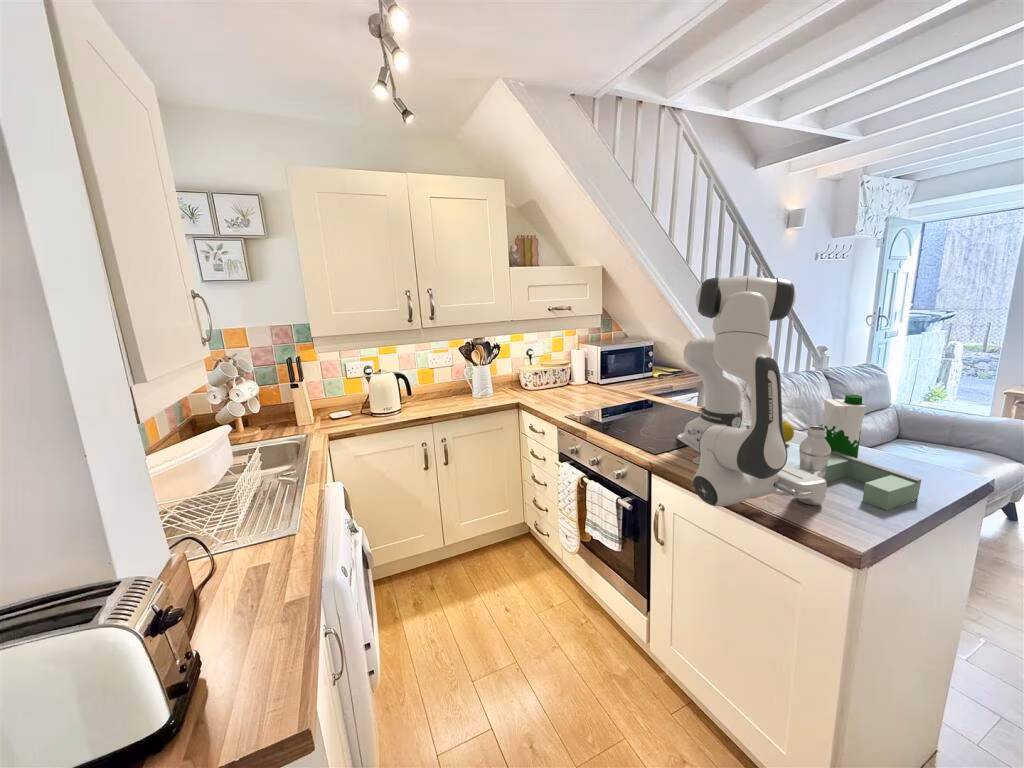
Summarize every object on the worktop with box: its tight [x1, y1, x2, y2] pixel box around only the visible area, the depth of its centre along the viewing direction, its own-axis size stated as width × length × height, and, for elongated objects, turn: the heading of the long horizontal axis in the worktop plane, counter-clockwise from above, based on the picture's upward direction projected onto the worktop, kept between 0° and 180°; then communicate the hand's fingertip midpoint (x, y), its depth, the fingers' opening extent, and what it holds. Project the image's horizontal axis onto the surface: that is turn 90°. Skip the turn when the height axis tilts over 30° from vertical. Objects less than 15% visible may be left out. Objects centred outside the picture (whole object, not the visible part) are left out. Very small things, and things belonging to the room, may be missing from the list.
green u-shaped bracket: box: [825, 451, 922, 511], centre depth 105 cm, size 20×12×6 cm, turn 18°
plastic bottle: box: [796, 425, 831, 506], centre depth 99 cm, size 6×7×20 cm
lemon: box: [782, 420, 795, 443], centre depth 137 cm, size 6×6×8 cm
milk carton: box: [821, 394, 868, 459], centre depth 122 cm, size 9×9×20 cm
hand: (799, 465), depth 97 cm, fingers open, 8 cm apart
